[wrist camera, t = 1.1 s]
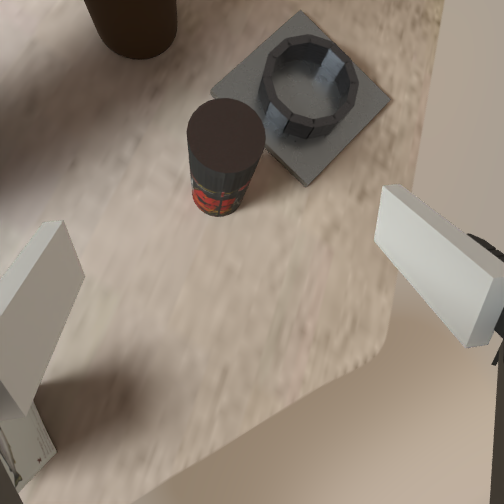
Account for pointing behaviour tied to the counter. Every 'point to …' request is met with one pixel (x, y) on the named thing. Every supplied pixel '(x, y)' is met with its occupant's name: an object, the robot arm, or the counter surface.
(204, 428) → the counter surface
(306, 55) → the duct flange
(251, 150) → the deodorant
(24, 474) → the supplement box
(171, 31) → the olive oil
